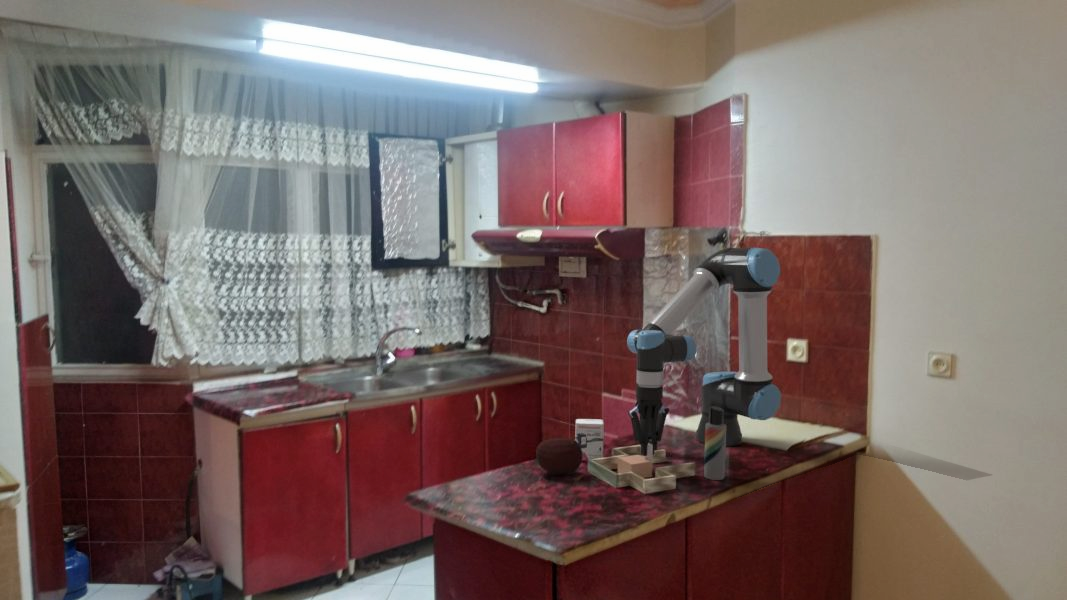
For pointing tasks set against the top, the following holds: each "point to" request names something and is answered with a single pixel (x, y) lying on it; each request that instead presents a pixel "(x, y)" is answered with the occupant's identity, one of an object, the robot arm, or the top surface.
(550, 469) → the potato
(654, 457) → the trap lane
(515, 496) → the top surface
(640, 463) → the block
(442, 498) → the top surface
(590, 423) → the ink box
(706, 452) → the lotion bottle
